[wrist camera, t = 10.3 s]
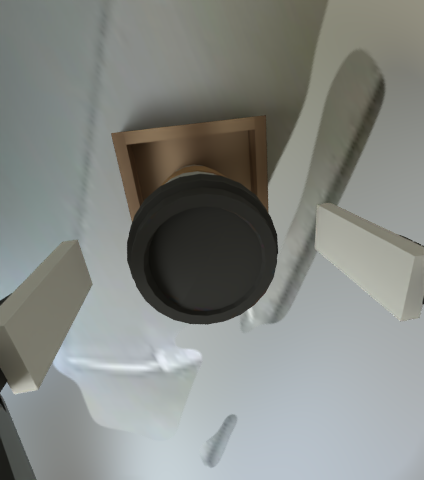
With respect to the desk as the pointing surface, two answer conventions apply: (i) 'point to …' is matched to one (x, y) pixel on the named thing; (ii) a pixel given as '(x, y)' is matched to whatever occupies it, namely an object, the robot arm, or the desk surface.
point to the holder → (193, 155)
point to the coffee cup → (202, 247)
